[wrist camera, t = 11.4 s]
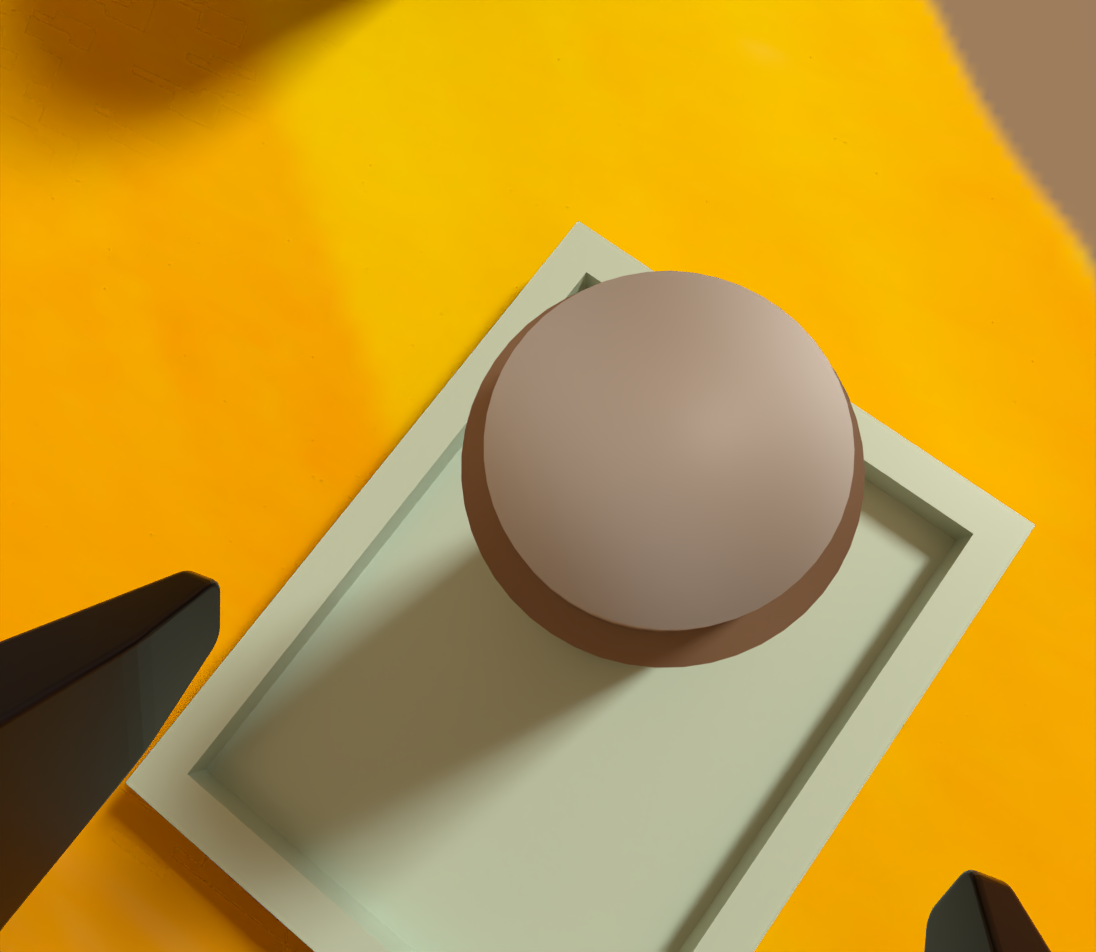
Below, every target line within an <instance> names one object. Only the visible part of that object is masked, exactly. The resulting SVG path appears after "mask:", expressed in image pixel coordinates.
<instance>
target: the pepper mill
mask: <svg viewBox="0 0 1096 952" xmlns="http://www.w3.org/2000/svg"><path fill="white" fill-rule="evenodd" d="M864 478H865V466H864V455H863V444H862V440H861V435H860V431H859V427H858V422H857V418H856V416H855V413H854V410H853V408H852V405H851V402H850V400H849V397H848V395H847V393H846V391H845V389H844V387H843V385H842V383H841V381H840V379H839V378H838V376H837V374H836V372H835V371H834V369H833V368H832V366H831V365H830V363H829V361H828V359H827V358H826V356H825V355H824V354H823V352H822V351H821V349H820V348H819V347H818V345H817V344H816V342H815V341H814V340H813V339H812V338H811V337H810V336H809V334H808V333H807V332H806V331H805V330H804V329H803V328H802V327H801V326H800V325H799V324H798V323H797V322H796V321H795V320H794V319H792V318H791V317H790V316H789V315H788V314H786V313H785V312H784V311H783V310H782V309H781V308H779V307H778V306H776V305H774V304H773V303H771V302H770V301H768V300H767V299H765V298H764V297H762V296H760V295H758V294H756V293H754V292H752V291H750V290H748V289H746V288H744V287H742V286H740V285H737V284H734V283H731V282H728V281H725V280H722V279H719V278H716V277H711V276H706V275H702V274H697V273H689V272H677V271H656V272H643V273H637V274H631V275H625V276H621V277H618V278H614V279H611V280H607V281H604V282H601V283H599V284H597V285H594V286H592V287H590V288H587V289H585V290H582V291H581V292H579V293H576V294H574V295H572V296H569V297H567V298H566V299H564V300H562V301H560V302H559V303H557V304H555V305H554V306H552V307H550V308H548V309H547V310H545V311H544V312H543V313H541V314H540V315H539V316H538V317H536V318H535V319H534V320H532V321H531V322H530V323H528V324H527V325H526V326H525V327H524V328H523V329H522V330H521V331H520V332H519V333H518V334H517V335H516V336H515V337H514V338H513V339H512V340H511V341H510V342H509V343H508V344H507V346H506V347H505V348H504V350H503V351H502V352H501V353H500V355H499V356H498V357H497V358H496V360H495V361H494V363H493V364H492V366H491V368H490V369H489V371H488V373H487V374H486V376H485V378H484V380H483V381H482V383H481V385H480V388H479V390H478V392H477V395H476V397H475V399H474V402H473V404H472V406H471V410H470V414H469V417H468V421H467V424H466V428H465V433H464V440H463V448H462V455H461V482H462V490H463V498H464V505H465V509H466V513H467V517H468V521H469V524H470V528H471V532H472V534H473V536H474V539H475V541H476V544H477V546H478V548H479V551H480V553H481V555H482V557H483V559H484V561H485V562H486V564H487V566H488V567H489V569H490V571H491V573H492V574H493V576H494V578H495V579H496V580H497V582H498V583H499V584H500V585H501V587H502V588H503V589H504V591H505V592H506V593H507V594H508V596H509V597H510V598H511V599H512V600H513V601H514V602H515V603H516V604H517V605H518V606H519V607H520V608H521V609H522V610H523V611H524V612H525V613H526V614H527V615H528V616H529V617H530V618H531V619H532V620H534V621H535V622H536V623H538V624H539V625H540V626H542V627H543V628H544V629H546V630H547V631H548V632H550V633H551V634H553V635H554V636H556V637H558V638H560V639H561V640H563V641H565V642H567V643H568V644H570V645H572V646H574V647H576V648H578V649H581V650H583V651H585V652H588V653H590V654H593V655H595V656H598V657H600V658H604V659H608V660H612V661H616V662H620V663H624V664H628V665H636V666H645V667H653V668H670V667H688V666H695V665H701V664H708V663H712V662H716V661H719V660H723V659H726V658H730V657H733V656H736V655H739V654H741V653H743V652H745V651H748V650H750V649H752V648H754V647H757V646H759V645H761V644H763V643H764V642H766V641H768V640H769V639H771V638H773V637H774V636H776V635H777V634H779V633H781V632H782V631H784V630H785V629H786V628H788V627H789V626H790V625H791V624H792V623H794V622H795V621H796V620H797V619H798V618H800V617H801V616H802V615H803V614H805V613H806V612H807V610H808V609H809V608H810V607H811V606H812V605H813V604H814V603H815V602H816V601H817V600H818V598H819V597H820V596H821V595H822V594H823V593H824V591H825V590H826V589H827V587H828V586H829V584H830V583H831V581H832V580H833V578H834V577H835V575H836V574H837V573H838V571H839V569H840V567H841V565H842V563H843V561H844V559H845V557H846V555H847V553H848V551H849V549H850V547H851V544H852V541H853V538H854V535H855V532H856V529H857V526H858V523H859V518H860V513H861V508H862V502H863V497H864Z"/></svg>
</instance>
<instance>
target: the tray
mask: <svg viewBox="0 0 1096 952" xmlns="http://www.w3.org/2000/svg"><path fill="white" fill-rule="evenodd" d="M643 272H654V271H653V270H651V269H650V268H648V267H647V266H645V265H644V264H642V263H641V262H639V261H638V260H636V259H635V258H633V257H632V256H630V255H629V254H627V253H626V252H624V251H623V250H621V249H620V248H618V247H617V246H615V245H614V244H612V243H611V242H609V241H608V240H606V239H605V238H603V237H602V236H600V235H599V234H597V233H596V232H594V231H593V230H591V229H590V228H588V227H587V226H585V225H584V224H582V223H581V222H579V221H578V222H577V223H576V224H575V225H574V227H573V228H572V229H571V230H570V232H569V233H568V234H567V235H566V237H565V238H564V239H563V240H562V242H561V243H560V244H559V245H558V247H557V248H556V249H555V250H554V251H553V253H552V254H551V255H550V256H549V258H548V259H547V260H546V261H545V263H544V264H543V265H542V266H541V268H540V269H539V270H538V271H537V273H536V274H535V275H534V276H533V278H532V279H531V280H530V281H529V283H528V284H527V285H526V286H525V287H524V289H523V290H522V291H521V292H520V294H519V295H518V296H517V297H516V299H515V300H514V301H513V302H512V304H511V305H510V306H509V307H508V309H507V310H506V311H505V312H504V314H503V315H502V316H501V317H500V319H499V320H498V321H497V322H496V323H495V325H494V326H493V327H492V328H491V330H490V331H489V332H488V333H487V335H486V336H485V337H484V338H483V340H482V341H481V342H480V343H479V345H478V346H477V347H476V348H475V350H474V351H473V352H472V353H471V354H470V356H469V357H468V358H467V359H466V361H465V362H464V363H463V364H462V366H461V367H460V368H459V369H458V371H457V372H456V373H455V374H454V376H453V377H452V378H451V379H450V381H449V382H448V383H447V384H446V386H445V387H444V388H443V389H442V390H441V392H440V393H439V394H438V395H437V397H436V398H435V399H434V400H433V402H432V403H431V404H430V405H429V407H428V408H427V409H426V410H425V412H424V413H423V414H422V415H421V417H420V418H419V419H418V420H417V421H416V423H415V424H414V425H413V426H412V428H411V429H410V430H409V431H408V433H407V434H406V435H405V436H404V438H403V439H402V440H401V441H400V443H399V444H398V445H397V446H396V448H395V449H394V450H393V451H392V453H391V454H390V455H389V456H388V457H387V459H386V460H385V461H384V462H383V464H382V465H381V466H380V467H379V469H378V470H377V471H376V472H375V474H374V475H373V476H372V477H371V479H370V480H369V481H368V482H367V484H366V485H365V486H364V487H363V489H362V490H361V491H360V492H359V493H358V495H357V496H356V497H355V498H354V500H353V501H352V502H351V503H350V505H349V506H348V507H347V508H346V510H345V511H344V512H343V513H342V515H341V516H340V517H339V518H338V520H337V521H336V522H335V523H334V524H333V526H332V527H331V528H330V529H329V531H328V532H327V533H326V534H325V536H324V537H323V538H322V539H321V541H320V542H319V543H318V544H317V546H316V547H315V548H314V549H313V551H312V552H311V553H310V554H309V556H308V557H307V558H306V559H305V560H304V562H303V563H302V564H301V565H300V567H299V568H298V569H297V570H296V572H295V573H294V574H293V575H292V577H291V578H290V579H289V580H288V582H287V583H286V584H285V585H284V587H283V588H282V589H281V590H280V591H279V593H278V594H277V595H276V596H275V598H274V599H273V600H272V601H271V603H270V604H269V605H268V606H267V608H266V609H265V610H264V611H263V613H262V614H261V615H260V616H259V618H258V619H257V620H256V621H255V623H254V624H253V625H252V626H251V627H250V629H249V630H248V631H247V632H246V634H245V635H244V636H243V637H242V639H241V640H240V641H239V642H238V644H237V645H236V646H235V647H234V649H233V650H232V651H231V652H230V654H229V655H228V656H227V657H226V658H225V660H224V661H223V662H222V663H221V665H220V666H219V667H218V668H217V670H216V671H215V672H214V673H213V675H212V676H211V677H210V678H209V680H208V681H207V682H206V683H205V685H204V686H203V687H202V688H201V690H200V691H199V692H198V693H197V694H196V696H195V697H194V698H193V699H192V701H191V702H190V703H189V704H188V706H187V707H186V708H185V709H184V711H183V712H182V713H181V714H180V716H179V717H178V718H177V719H176V721H175V722H174V723H173V724H172V726H171V727H170V728H169V729H168V730H167V732H166V733H165V734H164V735H163V737H162V738H161V739H160V740H159V742H158V743H157V744H156V745H155V747H154V748H153V749H152V750H151V752H150V753H149V754H148V755H147V757H146V758H145V759H144V760H143V761H142V763H141V764H140V765H139V766H138V768H137V769H136V770H135V771H134V773H133V774H132V775H131V776H130V778H129V779H128V780H127V781H126V784H127V785H128V786H129V787H130V788H132V789H133V790H134V791H135V792H136V793H137V794H138V795H139V796H141V797H142V798H143V799H144V800H145V801H146V802H147V803H148V804H150V805H151V806H152V807H153V808H154V809H155V810H156V811H157V812H159V813H160V814H161V815H162V816H163V817H164V818H165V819H166V820H167V821H169V822H170V823H171V824H172V825H173V826H174V827H175V828H176V829H178V830H179V831H180V832H181V833H182V834H183V835H184V836H185V837H187V838H188V839H189V840H190V841H191V842H192V843H193V844H194V845H195V846H197V847H198V848H199V849H200V850H201V851H202V852H203V853H204V854H206V855H207V856H208V857H209V858H210V859H211V860H212V861H213V862H215V863H216V864H217V865H218V866H219V867H220V868H221V869H222V870H224V871H225V872H226V873H227V874H228V875H229V876H230V877H231V878H232V879H234V880H235V881H236V882H237V883H238V884H239V885H240V886H241V887H243V888H244V889H245V890H246V891H247V892H248V893H249V894H250V895H252V896H253V897H254V898H255V899H256V900H257V901H258V902H259V903H260V904H262V905H263V906H264V907H265V908H266V909H267V910H268V911H269V912H271V913H272V914H273V915H274V916H275V917H276V918H277V919H278V920H280V921H281V922H282V923H283V924H284V925H285V926H286V927H287V928H288V929H290V930H291V931H292V932H293V933H294V934H295V935H296V936H297V937H299V938H300V939H301V940H302V941H303V942H304V943H305V944H306V945H308V946H309V947H310V948H311V949H312V950H313V951H314V952H754V951H755V949H756V948H757V946H758V945H759V943H760V942H761V940H762V939H763V937H764V935H765V934H766V932H767V931H768V929H769V928H770V926H771V925H772V923H773V922H774V920H775V919H776V917H777V916H778V914H779V913H780V911H781V910H782V908H783V907H784V905H785V904H786V902H787V901H788V899H789V898H790V896H791V895H792V893H793V892H794V890H795V889H796V887H797V885H798V884H799V882H800V881H801V879H802V878H803V876H804V875H805V873H806V872H807V870H808V869H809V867H810V866H811V864H812V863H813V861H814V860H815V858H816V857H817V855H818V854H819V852H820V851H821V849H822V848H823V846H824V845H825V843H826V842H827V840H828V839H829V837H830V835H831V834H832V832H833V831H834V829H835V828H836V826H837V825H838V823H839V822H840V820H841V819H842V817H843V816H844V814H845V813H846V811H847V810H848V808H849V807H850V805H851V804H852V802H853V801H854V799H855V798H856V796H857V795H858V793H859V792H860V790H861V789H862V787H863V785H864V784H865V782H866V781H867V779H868V778H869V776H870V775H871V773H872V772H873V770H874V769H875V767H876V766H877V764H878V763H879V761H880V760H881V758H882V757H883V755H884V754H885V752H886V751H887V749H888V748H889V746H890V745H891V743H892V742H893V740H894V739H895V737H896V735H897V734H898V732H899V731H900V729H901V728H902V726H903V725H904V723H905V722H906V720H907V719H908V717H909V716H910V714H911V713H912V711H913V710H914V708H915V707H916V705H917V704H918V702H919V701H920V699H921V698H922V696H923V695H924V693H925V692H926V690H927V688H928V687H929V685H930V684H931V682H932V681H933V679H934V678H935V676H936V675H937V673H938V672H939V670H940V669H941V667H942V666H943V664H944V663H945V661H946V660H947V658H948V657H949V655H950V654H951V652H952V651H953V649H954V648H955V646H956V645H957V643H958V642H959V640H960V638H961V637H962V635H963V634H964V632H965V631H966V629H967V628H968V626H969V625H970V623H971V622H972V620H973V619H974V617H975V616H976V614H977V613H978V611H979V610H980V608H981V607H982V605H983V604H984V602H985V601H986V599H987V598H988V596H989V595H990V593H991V592H992V590H993V588H994V587H995V585H996V584H997V582H998V581H999V579H1000V578H1001V576H1002V575H1003V573H1004V572H1005V570H1006V569H1007V567H1008V566H1009V564H1010V563H1011V561H1012V560H1013V558H1014V557H1015V555H1016V554H1017V552H1018V551H1019V549H1020V548H1021V546H1022V545H1023V543H1024V542H1025V540H1026V538H1027V537H1028V535H1029V534H1030V532H1031V531H1032V529H1033V528H1034V526H1035V525H1034V524H1033V523H1031V522H1030V521H1028V520H1027V519H1025V518H1024V517H1022V516H1021V515H1019V514H1018V513H1016V512H1015V511H1013V510H1012V509H1010V508H1009V507H1007V506H1006V505H1004V504H1003V503H1001V502H1000V501H998V500H997V499H995V498H994V497H992V496H991V495H989V494H988V493H986V492H985V491H983V490H982V489H980V488H979V487H977V486H976V485H974V484H973V483H971V482H970V481H968V480H967V479H965V478H964V477H962V476H961V475H959V474H958V473H956V472H955V471H953V470H952V469H950V468H949V467H947V466H946V465H944V464H943V463H941V462H940V461H938V460H937V459H935V458H934V457H932V456H931V455H929V454H928V453H926V452H925V451H923V450H922V449H920V448H919V447H917V446H916V445H914V444H913V443H911V442H910V441H908V440H907V439H905V438H904V437H902V436H901V435H899V434H898V433H896V432H895V431H893V430H892V429H890V428H889V427H887V426H886V425H884V424H883V423H881V422H880V421H878V420H877V419H875V418H874V417H872V416H871V415H869V414H868V413H866V412H865V411H863V410H862V409H860V408H859V407H857V406H856V405H854V404H853V403H851V405H852V408H853V410H854V413H855V416H856V418H857V422H858V427H859V431H860V435H861V440H862V444H863V455H864V466H865V478H864V497H863V502H862V508H861V513H860V518H859V523H858V526H857V529H856V532H855V535H854V538H853V541H852V544H851V547H850V549H849V551H848V553H847V555H846V557H845V559H844V561H843V563H842V565H841V567H840V569H839V571H838V573H837V574H836V575H835V577H834V578H833V580H832V581H831V583H830V584H829V586H828V587H827V589H826V590H825V591H824V593H823V594H822V595H821V596H820V597H819V598H818V600H817V601H816V602H815V603H814V604H813V605H812V606H811V607H810V608H809V609H808V610H807V612H806V613H805V614H803V615H802V616H801V617H800V618H798V619H797V620H796V621H795V622H794V623H792V624H791V625H790V626H789V627H788V628H786V629H785V630H784V631H782V632H781V633H779V634H777V635H776V636H774V637H773V638H771V639H769V640H768V641H766V642H764V643H763V644H761V645H759V646H757V647H754V648H752V649H750V650H748V651H745V652H743V653H741V654H739V655H736V656H733V657H730V658H726V659H723V660H719V661H716V662H712V663H708V664H701V665H695V666H688V667H670V668H653V667H645V666H636V665H628V664H624V663H620V662H616V661H612V660H608V659H604V658H600V657H598V656H595V655H593V654H590V653H588V652H585V651H583V650H581V649H578V648H576V647H574V646H572V645H570V644H568V643H567V642H565V641H563V640H561V639H560V638H558V637H556V636H554V635H553V634H551V633H550V632H548V631H547V630H546V629H544V628H543V627H542V626H540V625H539V624H538V623H536V622H535V621H534V620H532V619H531V618H530V617H529V616H528V615H527V614H526V613H525V612H524V611H523V610H522V609H521V608H520V607H519V606H518V605H517V604H516V603H515V602H514V601H513V600H512V599H511V598H510V597H509V596H508V594H507V593H506V592H505V591H504V589H503V588H502V587H501V585H500V584H499V583H498V582H497V580H496V579H495V578H494V576H493V574H492V573H491V571H490V569H489V567H488V566H487V564H486V562H485V561H484V559H483V557H482V555H481V553H480V551H479V548H478V546H477V544H476V541H475V539H474V536H473V534H472V532H471V528H470V524H469V521H468V517H467V513H466V509H465V505H464V498H463V490H462V482H461V455H462V448H463V440H464V433H465V428H466V424H467V421H468V417H469V414H470V410H471V406H472V404H473V402H474V399H475V397H476V395H477V392H478V390H479V388H480V385H481V383H482V381H483V380H484V378H485V376H486V374H487V373H488V371H489V369H490V368H491V366H492V364H493V363H494V361H495V360H496V358H497V357H498V356H499V355H500V353H501V352H502V351H503V350H504V348H505V347H506V346H507V344H508V343H509V342H510V341H511V340H512V339H513V338H514V337H515V336H516V335H517V334H518V333H519V332H520V331H521V330H522V329H523V328H524V327H525V326H526V325H527V324H528V323H530V322H531V321H532V320H534V319H535V318H536V317H538V316H539V315H540V314H541V313H543V312H544V311H545V310H547V309H548V308H550V307H552V306H554V305H555V304H557V303H559V302H560V301H562V300H564V299H566V298H567V297H569V296H572V295H574V294H576V293H579V292H581V291H582V290H585V289H587V288H590V287H592V286H594V285H597V284H599V283H601V282H604V281H607V280H611V279H614V278H618V277H621V276H625V275H631V274H637V273H643Z"/></svg>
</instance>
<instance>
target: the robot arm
mask: <svg viewBox="0 0 1096 952" xmlns="http://www.w3.org/2000/svg"><path fill="white" fill-rule="evenodd" d="M219 629H220V587H219V585H218V583H217V582H216V581H215V580H213V579H211V578H208V577H206V576H203V575H200V574H198V573H195V572H192V571H182V572H178V573H176V574H173V575H171V576H168V577H166V578H163V579H160V580H158V581H155V582H153V583H150V584H148V585H145V586H142V587H140V588H137V589H135V590H132V591H130V592H127V593H124V594H122V595H119V596H117V597H114V598H111V599H109V600H106V601H104V602H101V603H99V604H96V605H93V606H91V607H88V608H86V609H83V610H81V611H78V612H75V613H73V614H70V615H68V616H65V617H63V618H60V619H57V620H55V621H52V622H50V623H47V624H45V625H42V626H39V627H37V628H34V629H32V630H29V631H27V632H24V633H21V634H19V635H16V636H14V637H11V638H8V639H6V640H3V641H1V642H0V930H1V929H2V928H3V927H4V925H5V924H6V923H7V922H8V921H9V919H10V918H11V917H12V916H13V914H14V913H15V912H16V911H17V910H18V908H19V907H20V906H21V905H22V903H23V902H24V901H25V900H26V898H27V897H28V896H29V895H30V894H31V892H32V891H33V890H34V889H35V887H36V886H37V885H38V884H39V882H40V881H41V880H42V879H43V878H44V876H45V875H46V874H47V873H48V871H49V870H50V869H51V868H52V867H53V865H54V864H55V863H56V862H57V860H58V859H59V858H60V857H61V855H62V854H63V853H64V852H65V851H66V849H67V848H68V847H69V846H70V844H71V843H72V842H73V841H74V840H75V838H76V837H77V836H78V835H79V833H80V832H81V831H82V830H83V828H84V827H85V826H86V825H87V824H88V822H89V821H90V820H91V819H92V817H93V816H94V815H95V814H96V812H97V811H98V810H99V809H100V808H101V806H102V805H103V804H104V803H105V801H106V800H107V799H108V798H109V797H110V795H111V794H112V793H113V792H114V790H115V789H116V788H117V787H118V785H119V784H120V783H121V782H122V781H123V779H124V778H125V777H126V776H127V774H128V773H129V772H130V771H131V769H132V768H133V767H134V766H135V764H136V763H137V762H138V760H139V759H140V758H141V757H142V755H143V754H144V753H145V751H146V750H147V748H148V747H149V745H150V744H151V742H152V741H153V740H154V738H155V737H156V735H157V734H158V732H159V730H160V729H161V727H162V726H163V724H164V723H165V721H166V720H167V718H168V717H169V715H170V714H171V712H172V710H173V709H174V707H175V706H176V704H177V703H178V701H179V700H180V698H181V697H182V695H183V694H184V692H185V690H186V689H187V687H188V686H189V684H190V683H191V681H192V680H193V678H194V677H195V675H196V674H197V672H198V670H199V669H200V667H201V666H202V664H203V663H204V661H205V660H206V658H207V657H208V655H209V654H210V652H211V651H212V649H213V647H214V645H215V643H216V641H217V638H218V635H219ZM925 952H1051V951H1050V949H1049V948H1048V946H1047V945H1046V943H1045V941H1044V940H1043V938H1042V936H1041V935H1040V933H1039V932H1038V930H1037V928H1036V927H1035V925H1034V923H1033V922H1032V920H1031V919H1030V917H1029V915H1028V914H1027V912H1026V910H1025V909H1024V907H1023V906H1022V904H1021V902H1020V901H1019V899H1018V897H1017V896H1016V894H1015V893H1014V891H1013V890H1012V889H1011V887H1010V886H1009V885H1008V884H1006V883H1005V882H1003V881H1001V880H999V879H996V878H993V877H991V876H988V875H986V874H983V873H980V872H978V871H975V870H968V871H966V872H964V873H963V874H961V875H960V876H959V878H958V879H957V880H956V881H955V882H954V884H953V885H952V886H951V887H950V888H949V889H948V891H947V892H946V893H945V894H944V895H943V896H942V898H941V899H940V900H939V901H938V902H937V904H936V905H935V906H934V908H933V909H932V911H931V913H930V916H929V919H928V922H927V928H926V939H925Z"/></svg>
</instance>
